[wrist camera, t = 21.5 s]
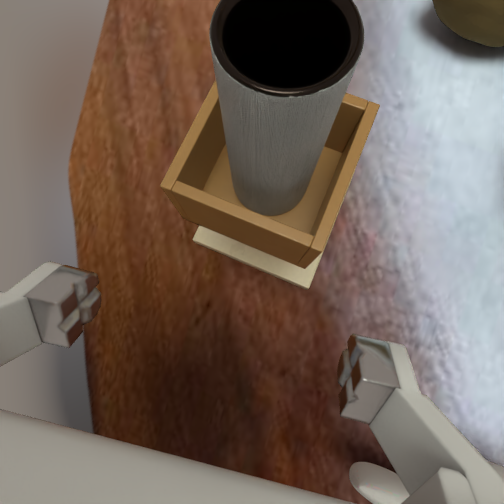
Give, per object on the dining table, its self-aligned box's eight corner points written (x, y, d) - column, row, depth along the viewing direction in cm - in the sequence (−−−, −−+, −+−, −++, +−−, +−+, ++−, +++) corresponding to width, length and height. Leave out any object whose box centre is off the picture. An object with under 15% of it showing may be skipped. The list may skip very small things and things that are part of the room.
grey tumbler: (225, 209, 19) (192, 81, 9) (240, 142, 20) (226, -44, 10) (300, 222, 18) (356, 108, 8) (311, 154, 19) (374, -23, 9)
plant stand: (191, 248, 31) (-272, -275, 4) (246, 134, 34) (209, -665, 6) (304, 295, 30) (825, 57, 3) (351, 175, 32) (862, -580, 5)
